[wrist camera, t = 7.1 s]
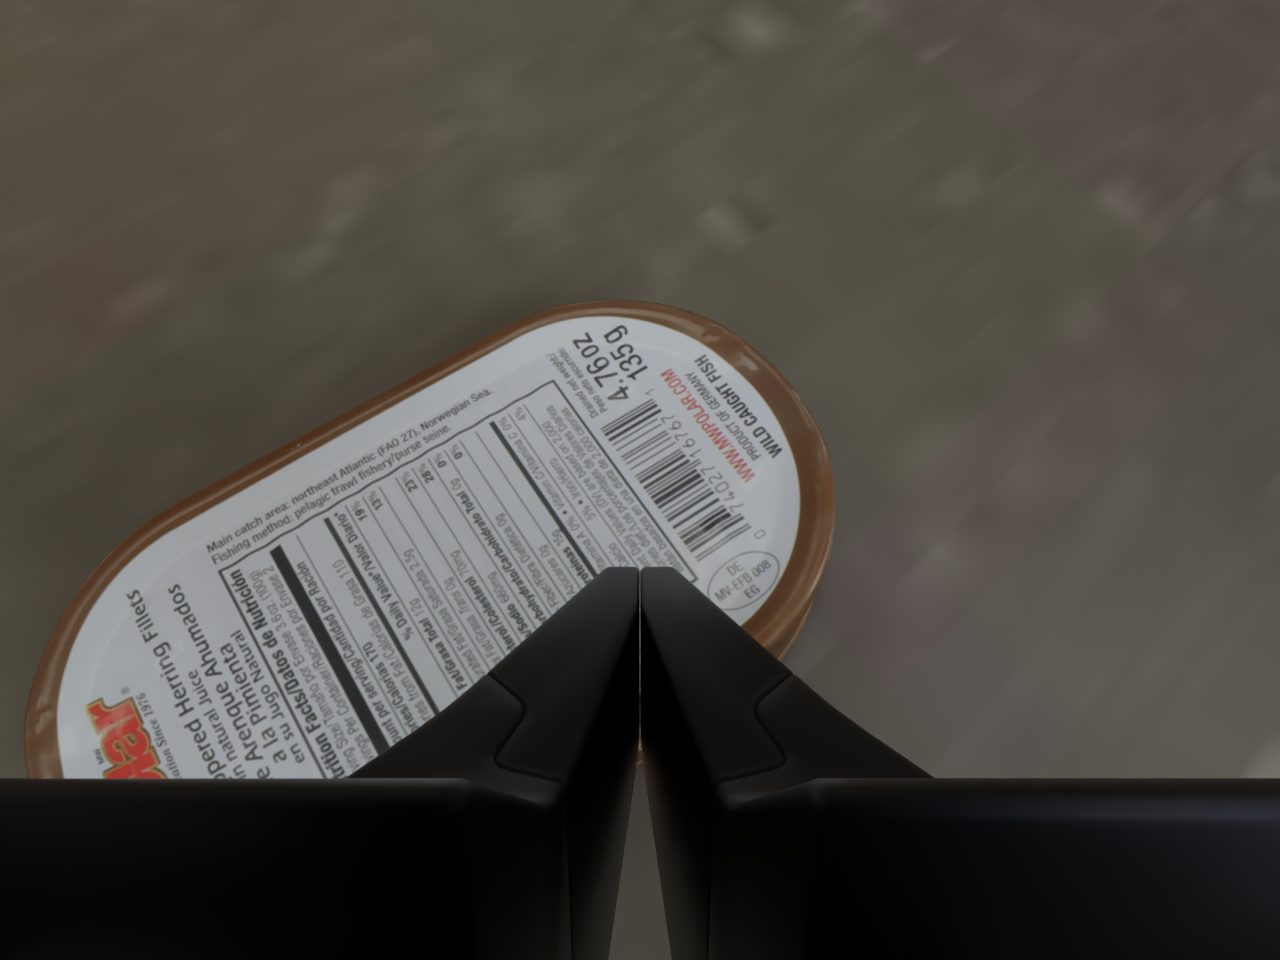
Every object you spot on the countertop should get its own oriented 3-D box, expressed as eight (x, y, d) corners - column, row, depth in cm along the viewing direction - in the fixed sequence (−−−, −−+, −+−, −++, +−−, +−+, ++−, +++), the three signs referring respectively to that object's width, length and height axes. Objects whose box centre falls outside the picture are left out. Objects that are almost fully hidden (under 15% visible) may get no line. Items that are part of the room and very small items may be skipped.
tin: (906, 583, 18) (667, 306, 21) (949, 518, 15) (665, 211, 19) (203, 1079, 15) (47, 661, 18) (91, 1113, 12) (-69, 611, 15)
